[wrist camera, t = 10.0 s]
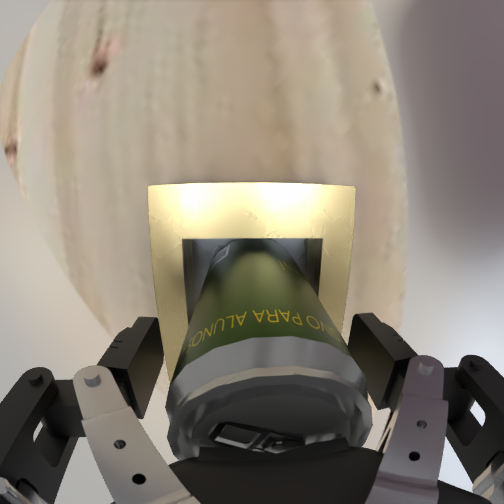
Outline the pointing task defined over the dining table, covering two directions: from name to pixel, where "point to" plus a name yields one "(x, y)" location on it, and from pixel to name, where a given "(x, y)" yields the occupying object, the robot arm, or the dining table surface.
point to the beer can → (263, 361)
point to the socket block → (245, 226)
